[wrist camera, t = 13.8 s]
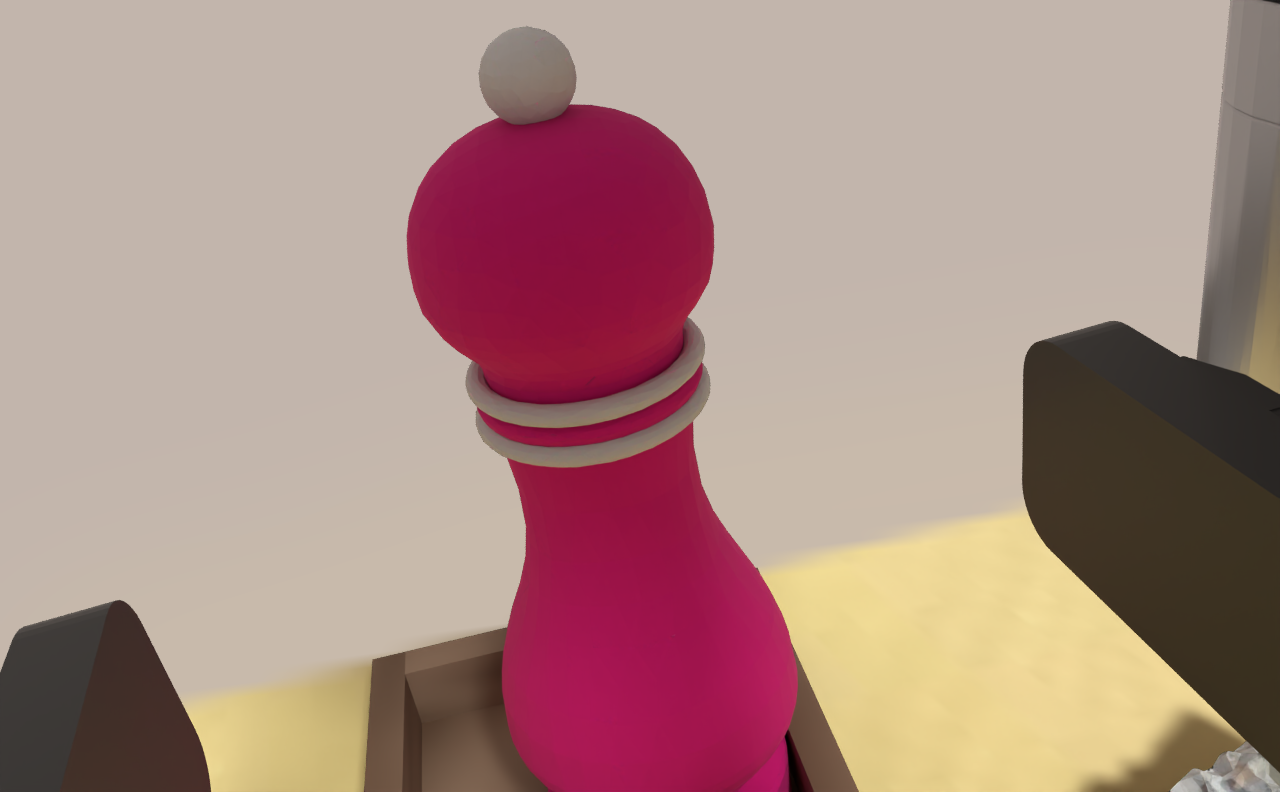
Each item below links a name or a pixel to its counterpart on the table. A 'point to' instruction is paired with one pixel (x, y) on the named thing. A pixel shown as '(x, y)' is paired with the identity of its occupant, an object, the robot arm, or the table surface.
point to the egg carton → (1233, 774)
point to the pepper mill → (601, 439)
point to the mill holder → (480, 737)
